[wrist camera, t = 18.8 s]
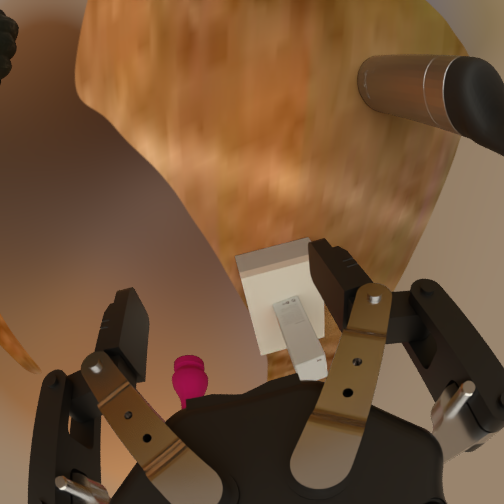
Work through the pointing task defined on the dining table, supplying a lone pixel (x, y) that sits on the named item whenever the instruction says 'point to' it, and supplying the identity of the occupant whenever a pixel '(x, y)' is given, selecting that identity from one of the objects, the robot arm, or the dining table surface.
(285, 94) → the dining table surface
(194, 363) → the pepper mill
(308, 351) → the skincare box
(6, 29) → the squash
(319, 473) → the robot arm
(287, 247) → the shelf bench
